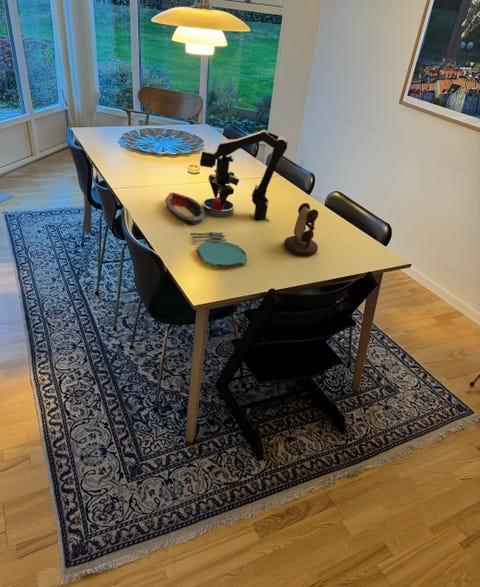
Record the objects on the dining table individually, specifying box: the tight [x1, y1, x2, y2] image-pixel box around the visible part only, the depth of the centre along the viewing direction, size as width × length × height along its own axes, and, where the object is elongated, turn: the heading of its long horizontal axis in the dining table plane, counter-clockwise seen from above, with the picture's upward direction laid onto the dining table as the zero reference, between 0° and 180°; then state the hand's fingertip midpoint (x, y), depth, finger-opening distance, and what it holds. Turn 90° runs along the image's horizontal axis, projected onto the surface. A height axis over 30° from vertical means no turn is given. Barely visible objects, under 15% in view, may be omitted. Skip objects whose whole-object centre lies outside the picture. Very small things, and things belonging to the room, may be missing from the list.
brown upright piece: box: [283, 202, 319, 256], centre depth 190 cm, size 15×15×20 cm
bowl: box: [201, 197, 235, 219], centre depth 216 cm, size 15×15×4 cm
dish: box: [164, 191, 206, 225], centre depth 210 cm, size 16×31×5 cm, turn 26°
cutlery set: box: [190, 231, 248, 267], centre depth 183 cm, size 20×30×2 cm, turn 19°
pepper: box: [213, 196, 224, 210], centre depth 215 cm, size 5×5×7 cm
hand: (219, 201), depth 215 cm, fingers open, 9 cm apart
